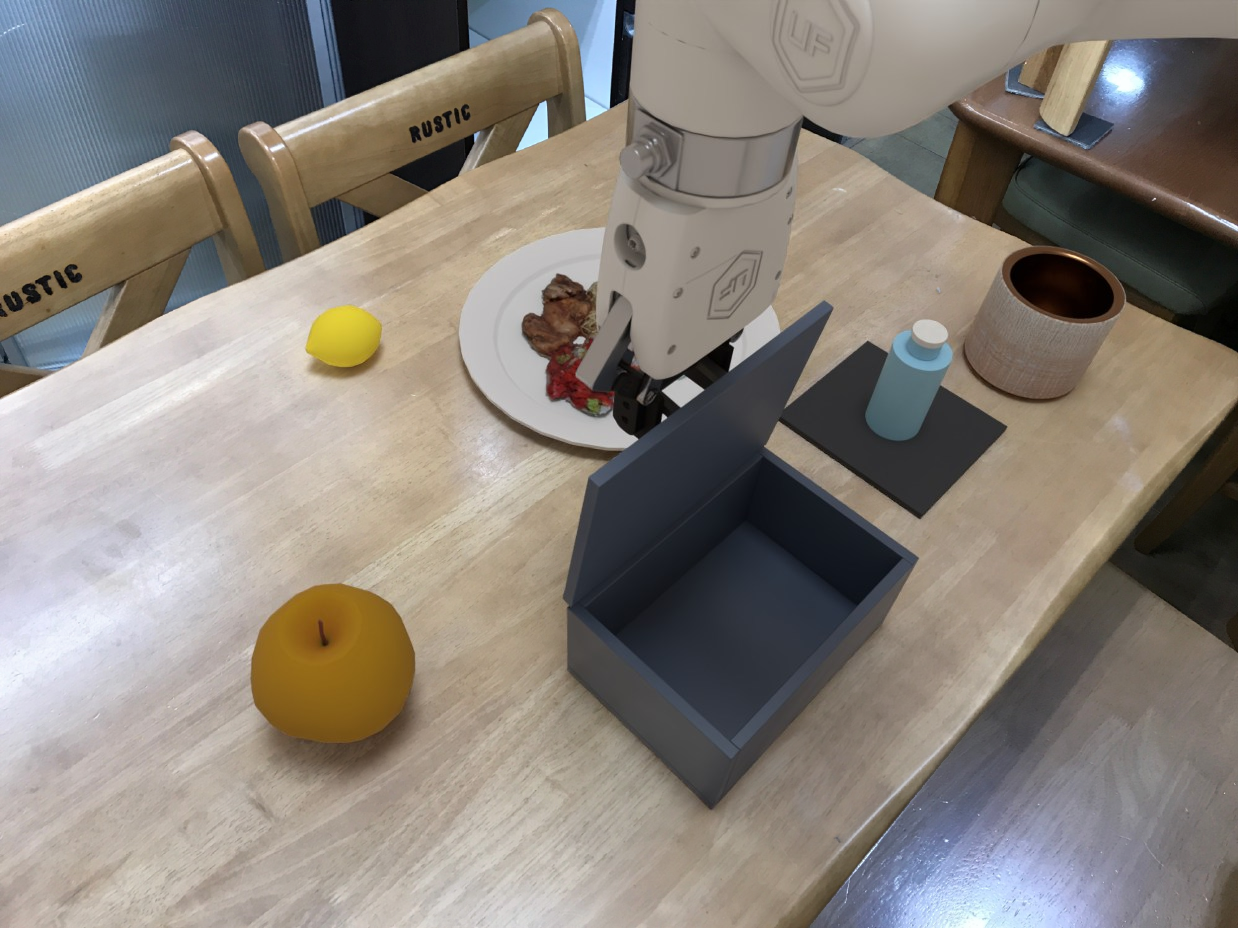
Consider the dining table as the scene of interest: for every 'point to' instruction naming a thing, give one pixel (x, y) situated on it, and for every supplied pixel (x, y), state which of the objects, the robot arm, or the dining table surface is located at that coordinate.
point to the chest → (734, 620)
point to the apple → (332, 665)
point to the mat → (890, 466)
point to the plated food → (557, 340)
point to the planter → (1043, 321)
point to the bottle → (909, 381)
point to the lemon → (344, 336)
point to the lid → (687, 452)
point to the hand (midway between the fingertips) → (669, 403)
